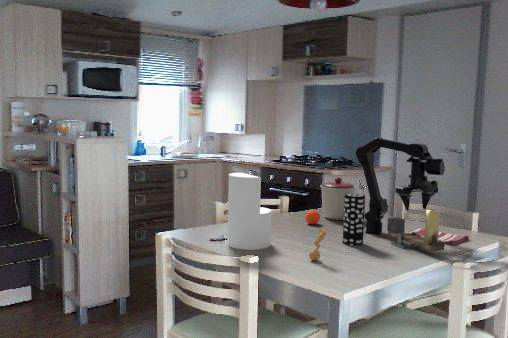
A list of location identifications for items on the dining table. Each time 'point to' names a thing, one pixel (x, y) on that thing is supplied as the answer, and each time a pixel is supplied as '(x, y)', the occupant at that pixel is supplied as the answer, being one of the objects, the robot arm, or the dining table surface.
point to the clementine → (312, 217)
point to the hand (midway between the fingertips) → (415, 209)
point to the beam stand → (404, 242)
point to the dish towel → (442, 237)
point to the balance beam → (398, 226)
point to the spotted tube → (353, 219)
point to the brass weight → (431, 226)
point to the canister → (335, 198)
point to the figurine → (315, 253)
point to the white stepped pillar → (247, 214)
